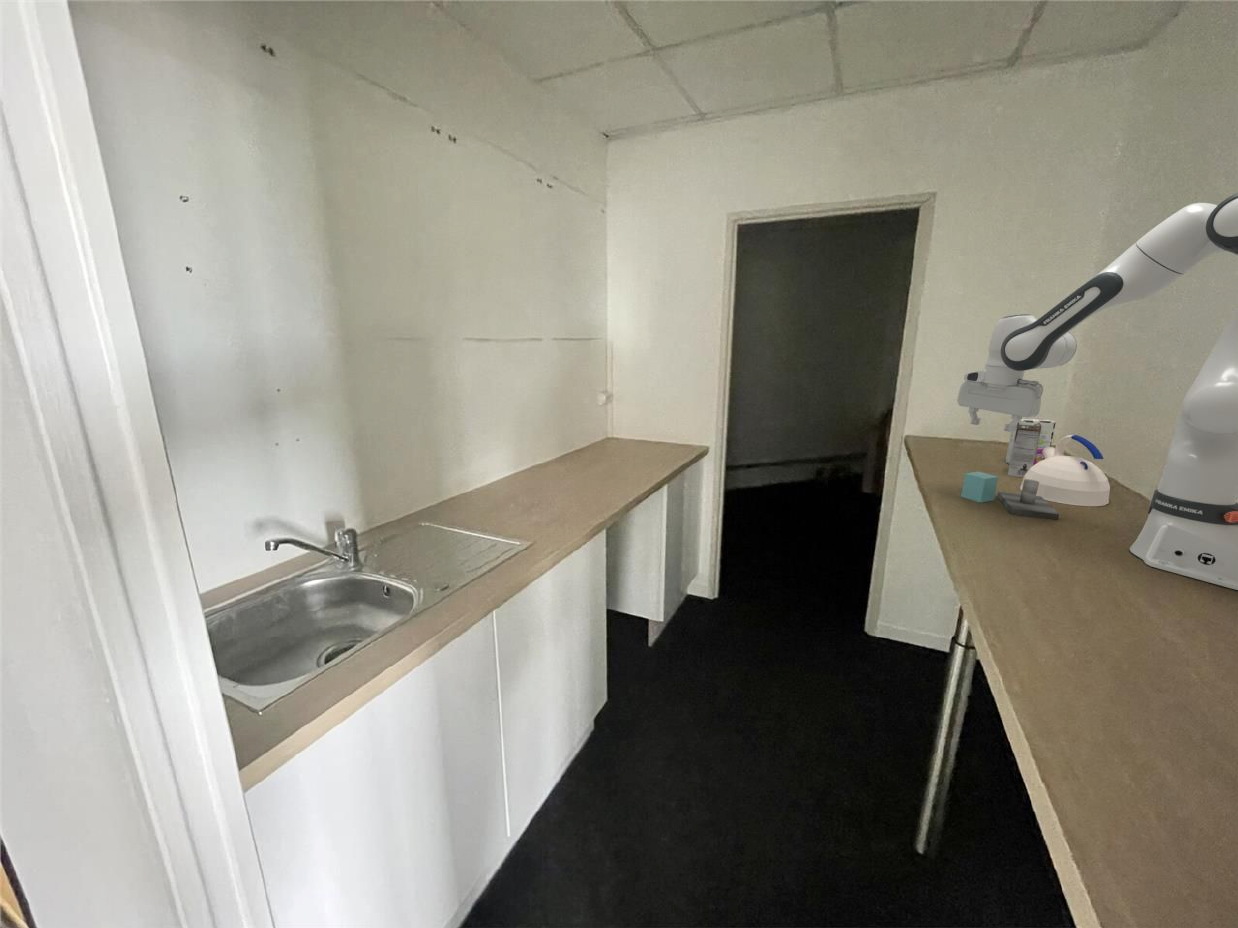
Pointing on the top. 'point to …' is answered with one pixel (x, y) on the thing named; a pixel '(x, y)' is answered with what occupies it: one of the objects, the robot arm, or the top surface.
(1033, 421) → the candy bar box
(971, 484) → the teal cube
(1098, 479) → the kettle
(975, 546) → the top surface
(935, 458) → the top surface
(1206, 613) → the top surface
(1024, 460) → the coffee box
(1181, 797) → the top surface
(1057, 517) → the post stand
